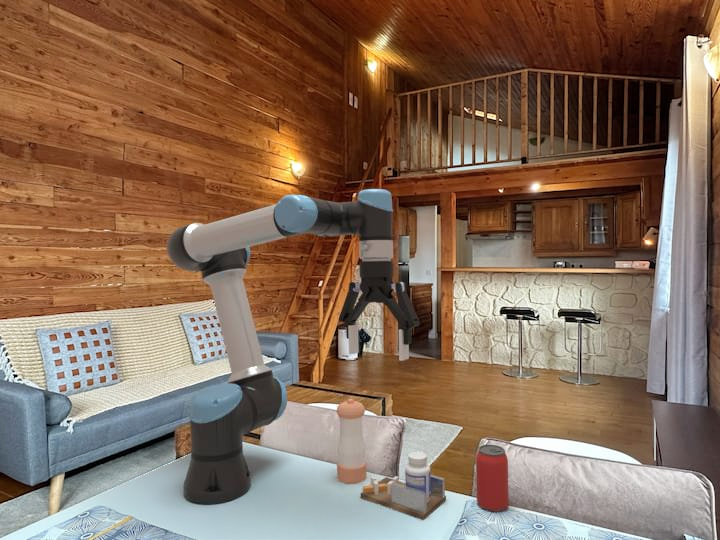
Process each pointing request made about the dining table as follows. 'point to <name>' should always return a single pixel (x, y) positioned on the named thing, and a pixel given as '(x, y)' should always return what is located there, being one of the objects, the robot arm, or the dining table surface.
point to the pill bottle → (418, 473)
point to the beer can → (492, 478)
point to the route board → (387, 501)
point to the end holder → (417, 494)
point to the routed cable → (379, 486)
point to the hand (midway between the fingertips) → (377, 356)
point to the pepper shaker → (351, 443)
